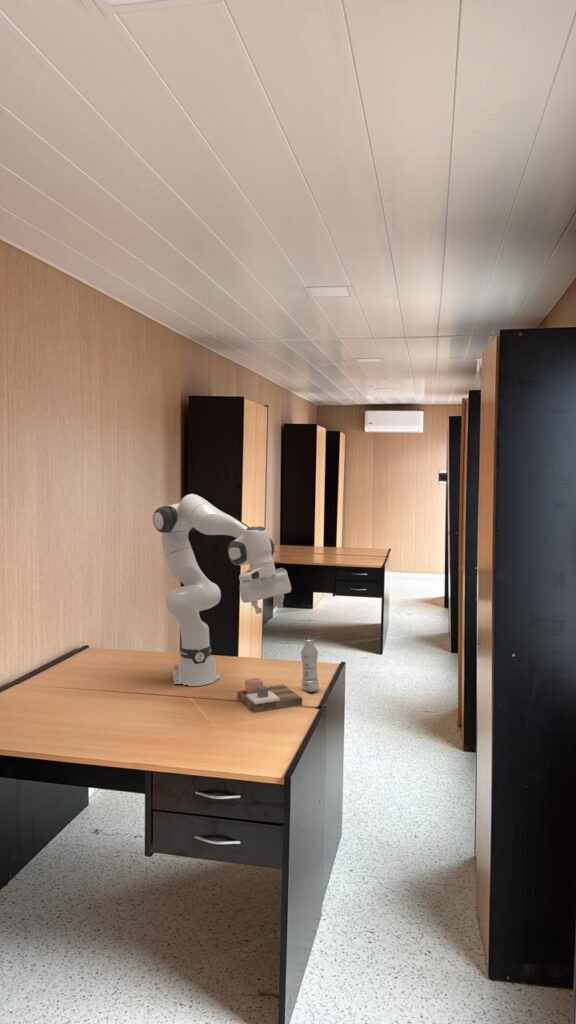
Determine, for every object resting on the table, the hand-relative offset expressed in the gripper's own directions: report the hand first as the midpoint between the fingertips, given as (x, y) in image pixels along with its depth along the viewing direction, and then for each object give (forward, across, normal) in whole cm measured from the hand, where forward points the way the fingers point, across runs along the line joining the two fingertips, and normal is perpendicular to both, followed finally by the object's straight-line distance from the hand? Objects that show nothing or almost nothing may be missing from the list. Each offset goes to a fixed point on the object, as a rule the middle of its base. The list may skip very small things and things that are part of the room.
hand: (269, 610), depth 263 cm
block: (+31, +4, -12) cm, 34 cm away
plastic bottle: (+35, -18, -8) cm, 40 cm away
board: (+33, +2, -7) cm, 34 cm away
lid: (+30, +7, -4) cm, 31 cm away
